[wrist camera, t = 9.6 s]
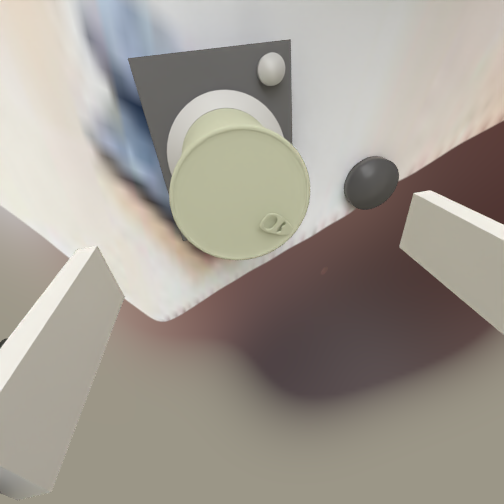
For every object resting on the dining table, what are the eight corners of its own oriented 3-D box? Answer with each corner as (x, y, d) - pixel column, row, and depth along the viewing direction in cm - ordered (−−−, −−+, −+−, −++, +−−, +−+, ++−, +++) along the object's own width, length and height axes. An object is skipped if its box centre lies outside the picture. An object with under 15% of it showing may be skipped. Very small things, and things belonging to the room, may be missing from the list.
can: (241, 216, 30) (259, 282, 20) (165, 173, 26) (141, 229, 16) (290, 146, 26) (343, 182, 16) (211, 84, 22) (217, 83, 12)
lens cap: (335, 179, 34) (340, 183, 33) (382, 144, 33) (389, 147, 31) (355, 213, 38) (360, 218, 37) (398, 184, 36) (404, 188, 35)
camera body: (138, 62, 24) (124, 57, 20) (279, 45, 25) (293, 37, 21) (185, 226, 35) (182, 245, 30) (284, 209, 36) (295, 225, 31)
